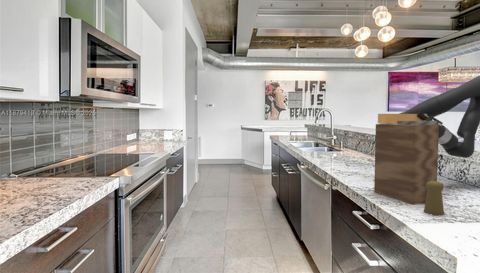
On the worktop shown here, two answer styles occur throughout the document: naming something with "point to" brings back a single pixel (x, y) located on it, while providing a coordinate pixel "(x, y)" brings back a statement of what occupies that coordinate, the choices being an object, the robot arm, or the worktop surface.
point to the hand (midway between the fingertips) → (412, 113)
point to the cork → (434, 198)
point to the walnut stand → (406, 159)
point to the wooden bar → (397, 118)
